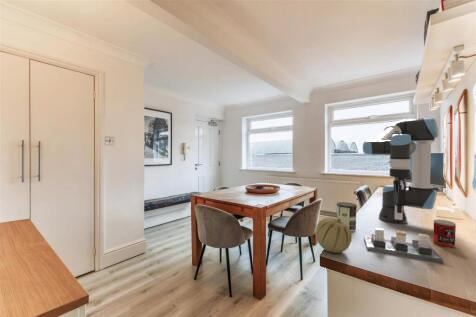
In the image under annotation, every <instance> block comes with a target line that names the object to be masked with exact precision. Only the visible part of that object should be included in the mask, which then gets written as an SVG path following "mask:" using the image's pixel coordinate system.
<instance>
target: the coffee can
mask: <svg viewBox="0 0 476 317" xmlns="http://www.w3.org/2000/svg"><path fill="white" fill-rule="evenodd" d="M357 206H358V205H357V204H355V203H352V202H345V201H343V202H341V201H339V202H336V218H338V219H341V220H342V221H344V222H345V223H346V224H347V225H348V227H349V228H350V231H351V232H355V231H356V230H357V208H358V207H357Z"/></svg>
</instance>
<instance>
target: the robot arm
mask: <svg viewBox="0 0 476 317" xmlns="http://www.w3.org/2000/svg"><path fill="white" fill-rule="evenodd" d="M438 137H439V127H438V123H437V121H436V119H435V118H433V117H424V118H416V119H415V118H413V119H402V120H399V121H396V122H393V123H391V124H389V125H388V126H386V127H385V128H384V129H383V132H382V133H380V134H379V135H378V136H377V137H375V138H374V139H373V140H365V141H364V142H363V144H362V152H363V154H364V155H368V156H369V155H371V156H375V155H376V156H378V155H379V156H384V155H385V156H389V160H388V163H389V167H390V169H389V177H391V178H394V180H393V181H392V184H387V185H386V184H385V185H384V186H383V187H382V200H381V203H382V204H381V209H380V211H379V214H378V220H381V221H383V222H387V223H393V224H407V223H408V217H407V215H406V212H405V207H410V208H417V209H421V210H432V209H433V208H434V207H435V205H436V200H437V197H438V196H437V195H438V194H437V193H438V191H437V190H435V189H434V186H433V185H432V184H431V163H432V162H431V160H432V157H431V156H432V143H434V142H435V141H436V139H437V138H438ZM410 168H411V169H410ZM410 176H411V183H409V184H408V187H407V183H406V181H405V178H407V179H408V178H410Z"/></svg>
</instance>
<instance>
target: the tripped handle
mask: <svg viewBox="0 0 476 317" xmlns="http://www.w3.org/2000/svg"><path fill="white" fill-rule="evenodd" d="M395 233H396V234H395V237H396V242H397V243H401V244H406V242H407V233H406V231H404V230H397V229H396V230H395Z"/></svg>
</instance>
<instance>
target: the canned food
mask: <svg viewBox="0 0 476 317" xmlns="http://www.w3.org/2000/svg"><path fill="white" fill-rule="evenodd" d="M456 230H457V224H456V222H453V221H450V220H447V219H434V220H433V234H432V237H433V238H432V239H433V240H432V242H433V243H434V244H435V245H437V246H439V247H443V248H448V249H449V248H450V249H452V248H455V245H456V234H457V233H456Z"/></svg>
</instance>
